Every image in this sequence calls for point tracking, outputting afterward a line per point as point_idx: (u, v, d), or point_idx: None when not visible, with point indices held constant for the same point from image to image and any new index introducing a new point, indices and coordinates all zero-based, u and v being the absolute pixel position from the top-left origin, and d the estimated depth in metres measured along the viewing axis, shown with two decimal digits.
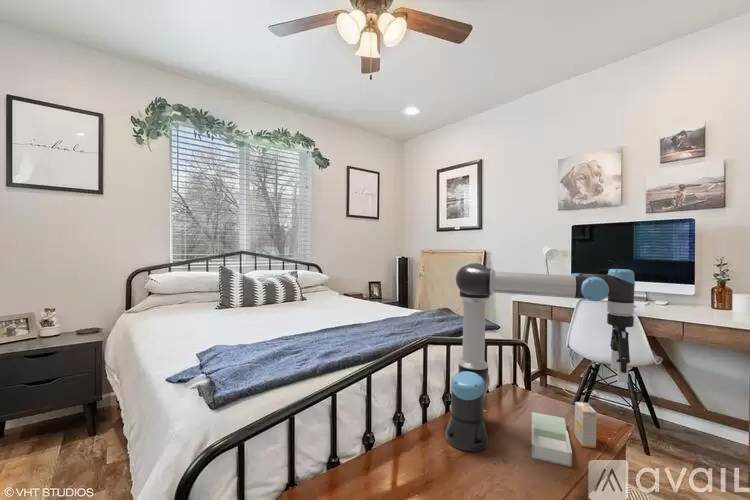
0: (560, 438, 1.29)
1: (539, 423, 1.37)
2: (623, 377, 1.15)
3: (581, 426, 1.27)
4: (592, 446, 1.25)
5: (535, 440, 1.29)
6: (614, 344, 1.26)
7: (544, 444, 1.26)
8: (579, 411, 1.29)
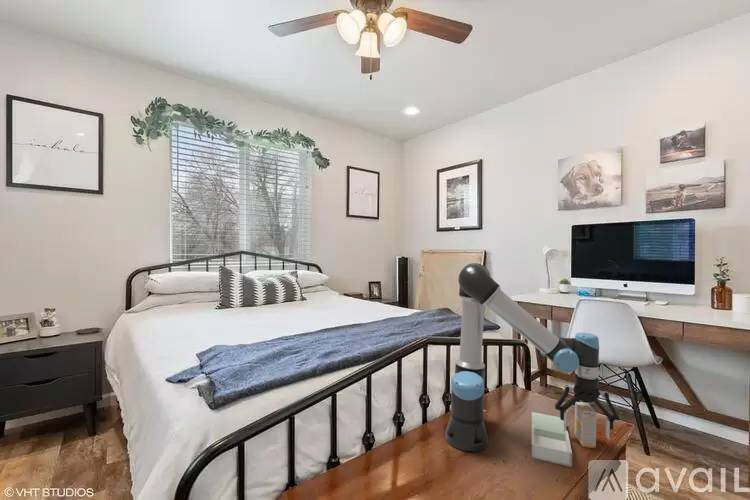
0: (560, 438, 1.29)
1: (539, 423, 1.37)
2: (563, 424, 1.32)
3: (581, 426, 1.27)
4: (592, 446, 1.25)
5: (535, 440, 1.29)
6: None
7: (544, 444, 1.26)
8: (579, 411, 1.29)
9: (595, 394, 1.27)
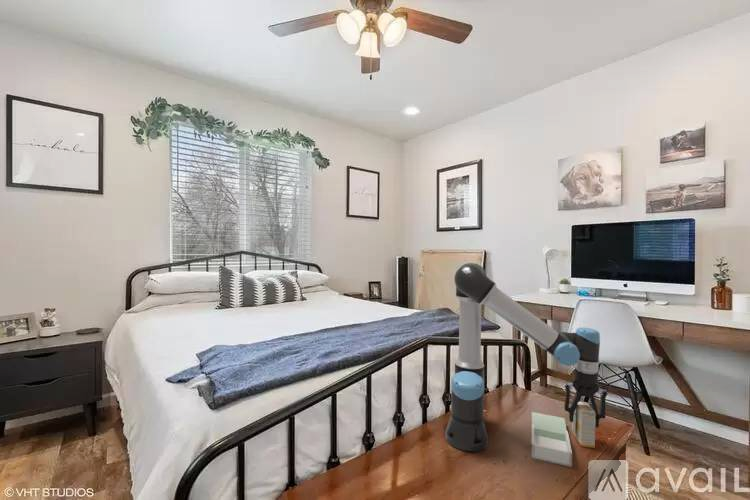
0: (560, 438, 1.29)
1: (539, 423, 1.37)
2: (572, 426, 1.31)
3: (580, 425, 1.27)
4: (591, 445, 1.25)
5: (535, 440, 1.29)
6: (592, 406, 1.29)
7: (544, 444, 1.26)
8: (578, 411, 1.29)
9: (594, 388, 1.27)
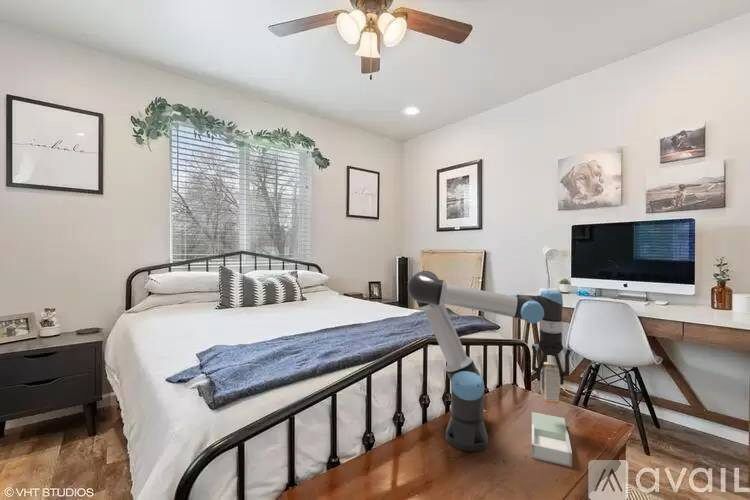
0: (560, 438, 1.29)
1: (539, 423, 1.37)
2: (540, 385, 1.36)
3: (545, 383, 1.33)
4: (555, 401, 1.31)
5: (535, 440, 1.29)
6: None
7: (544, 444, 1.26)
8: (544, 369, 1.35)
9: (558, 347, 1.33)
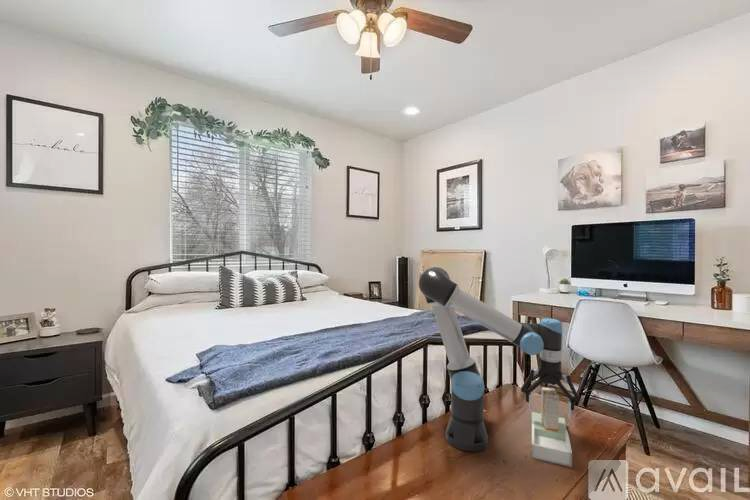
0: (560, 438, 1.29)
1: (539, 423, 1.37)
2: None
3: (544, 410, 1.33)
4: (555, 429, 1.31)
5: (535, 440, 1.29)
6: None
7: (544, 444, 1.26)
8: (544, 396, 1.35)
9: (558, 377, 1.33)
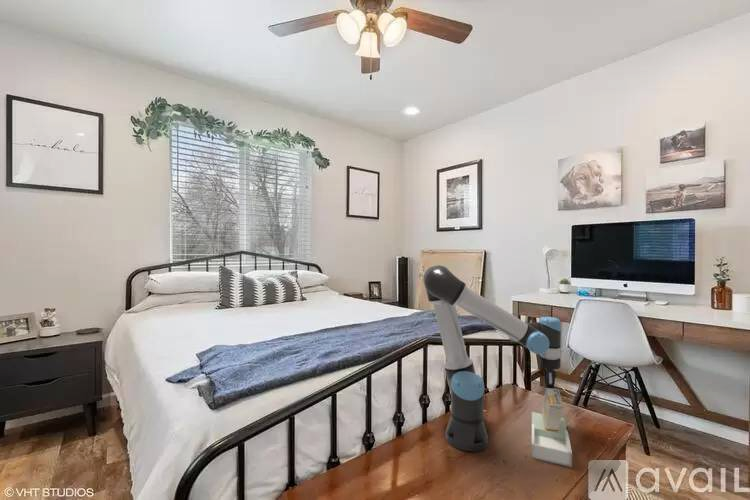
0: (560, 438, 1.29)
1: (539, 423, 1.37)
2: None
3: (546, 414, 1.30)
4: (555, 429, 1.31)
5: (535, 440, 1.29)
6: None
7: (544, 444, 1.26)
8: (547, 401, 1.30)
9: None
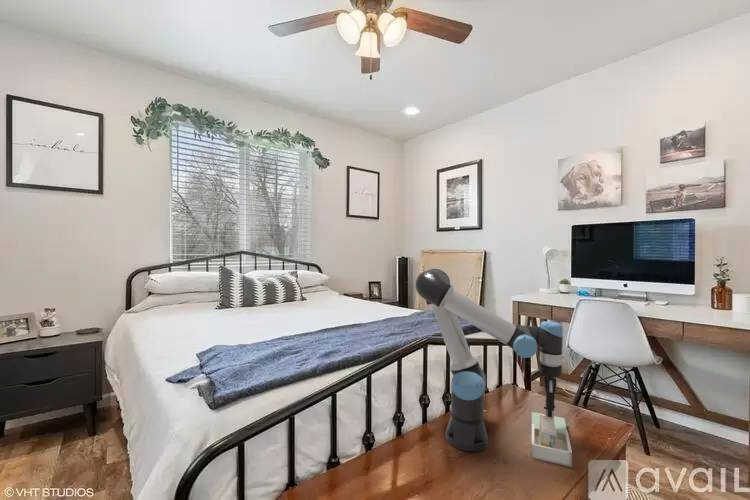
0: (560, 438, 1.29)
1: (539, 423, 1.37)
2: None
3: None
4: None
5: (535, 440, 1.29)
6: None
7: None
8: (540, 444, 1.21)
9: None
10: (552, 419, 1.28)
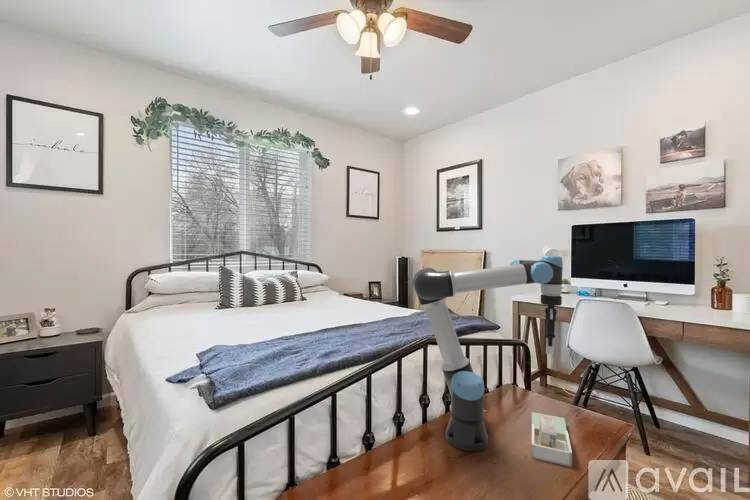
0: (560, 438, 1.29)
1: (539, 423, 1.37)
2: (550, 350, 1.39)
3: None
4: None
5: (535, 440, 1.29)
6: None
7: None
8: (540, 444, 1.21)
9: None
10: (552, 419, 1.28)
